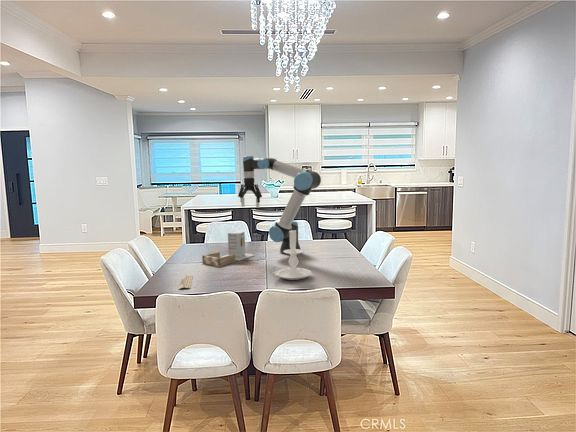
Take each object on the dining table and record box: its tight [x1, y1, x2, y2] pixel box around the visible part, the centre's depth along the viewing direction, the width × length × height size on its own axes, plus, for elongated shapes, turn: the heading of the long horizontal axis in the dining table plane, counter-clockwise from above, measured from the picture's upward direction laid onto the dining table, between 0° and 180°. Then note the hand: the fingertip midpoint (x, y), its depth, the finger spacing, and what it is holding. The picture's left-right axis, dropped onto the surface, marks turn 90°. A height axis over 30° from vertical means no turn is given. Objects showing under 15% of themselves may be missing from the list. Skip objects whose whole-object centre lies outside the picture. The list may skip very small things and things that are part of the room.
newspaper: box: [178, 274, 194, 290], centre depth 219 cm, size 24×7×2 cm, turn 10°
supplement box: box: [227, 230, 246, 257], centre depth 277 cm, size 10×9×17 cm
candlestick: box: [268, 230, 313, 281], centre depth 222 cm, size 21×25×28 cm
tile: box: [220, 253, 255, 262], centre depth 278 cm, size 17×17×1 cm
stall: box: [201, 251, 236, 267], centre depth 264 cm, size 16×15×5 cm
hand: (250, 207), depth 288 cm, fingers open, 13 cm apart
